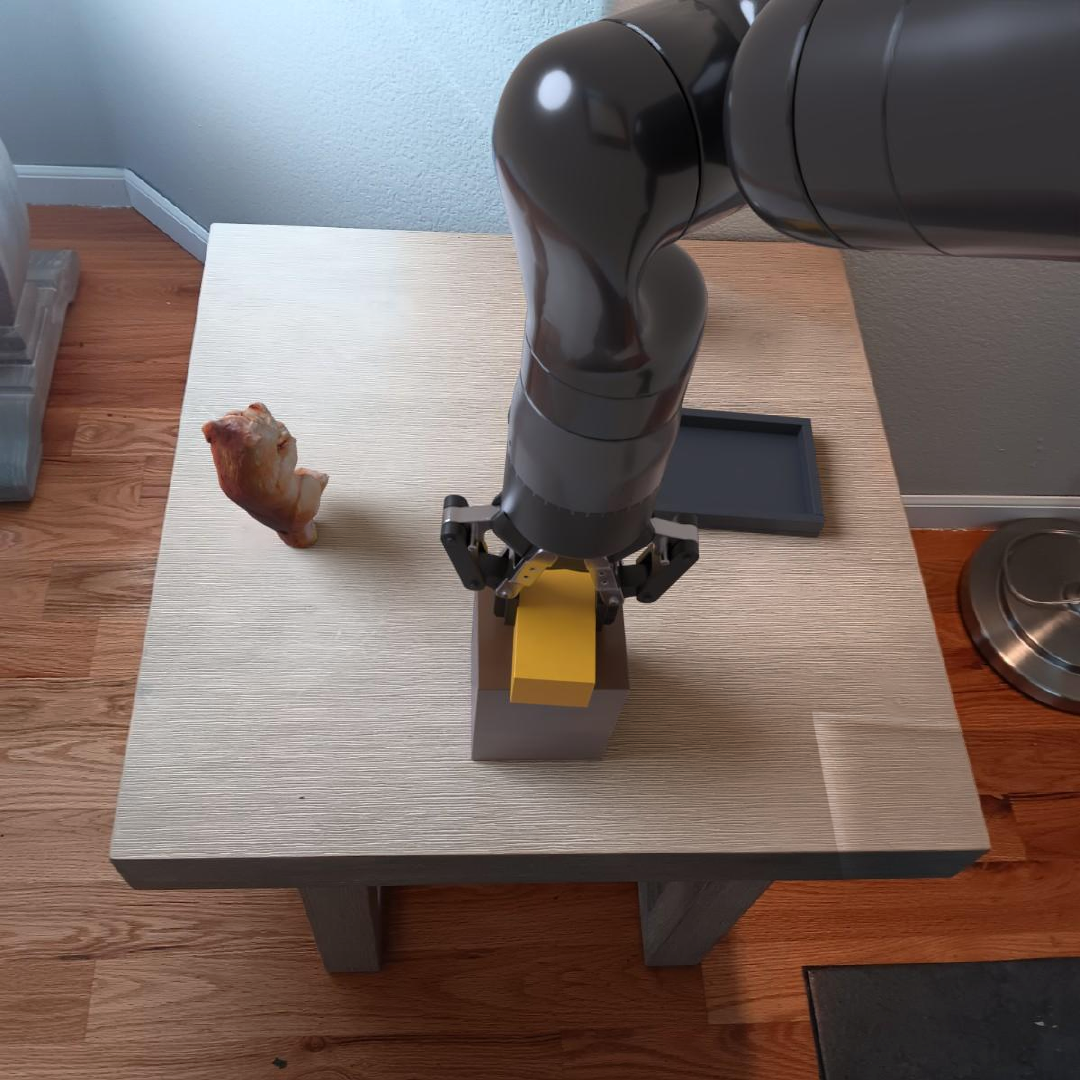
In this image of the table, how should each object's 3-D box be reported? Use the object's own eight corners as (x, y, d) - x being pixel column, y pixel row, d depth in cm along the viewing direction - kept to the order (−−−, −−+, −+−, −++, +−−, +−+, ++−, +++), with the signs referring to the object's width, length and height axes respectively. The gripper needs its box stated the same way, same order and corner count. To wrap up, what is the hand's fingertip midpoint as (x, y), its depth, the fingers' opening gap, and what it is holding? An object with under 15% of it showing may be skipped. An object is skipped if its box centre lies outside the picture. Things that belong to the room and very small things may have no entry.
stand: (593, 642, 74) (618, 558, 64) (602, 759, 69) (630, 689, 59) (471, 641, 73) (476, 556, 63) (471, 760, 69) (477, 689, 58)
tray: (817, 537, 81) (825, 523, 79) (611, 522, 80) (615, 507, 78) (802, 433, 86) (810, 418, 85) (611, 417, 86) (615, 401, 84)
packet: (587, 707, 58) (595, 683, 55) (510, 702, 58) (514, 677, 55) (588, 546, 64) (596, 516, 61) (518, 541, 64) (522, 510, 61)
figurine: (339, 499, 79) (321, 371, 66) (309, 582, 75) (283, 461, 62) (263, 483, 79) (230, 352, 66) (229, 565, 75) (186, 441, 62)
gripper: (425, 496, 44) (428, 664, 58) (749, 521, 45) (672, 680, 59) (440, 366, 48) (439, 553, 62) (737, 391, 49) (668, 570, 63)
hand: (553, 614), depth 60 cm, fingers closed on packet, 4 cm apart
